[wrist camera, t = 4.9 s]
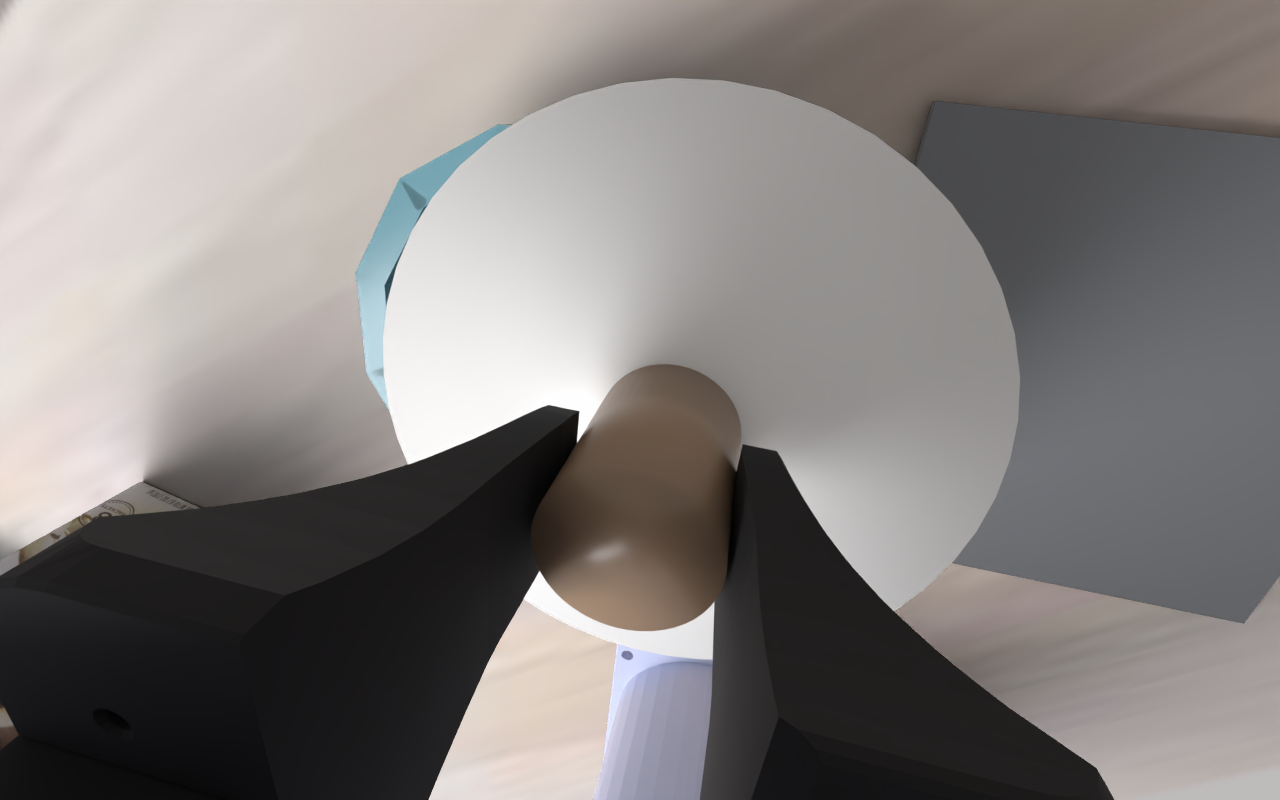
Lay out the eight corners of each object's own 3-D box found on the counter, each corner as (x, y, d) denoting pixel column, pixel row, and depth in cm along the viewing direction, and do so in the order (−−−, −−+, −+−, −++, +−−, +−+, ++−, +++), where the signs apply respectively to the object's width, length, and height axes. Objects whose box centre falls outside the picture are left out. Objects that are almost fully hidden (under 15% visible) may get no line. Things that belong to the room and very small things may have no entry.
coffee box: (313, 550, 28) (-179, 1007, 13) (303, 639, 31) (-109, 1091, 16) (137, 474, 28) (-530, 842, 14) (144, 569, 31) (-399, 954, 17)
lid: (888, 687, 15) (931, 908, 11) (418, 570, 17) (297, 721, 13) (1137, 133, 9) (1434, 146, 5) (381, 40, 11) (136, -8, 7)
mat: (1235, 614, 20) (1243, 623, 20) (810, 527, 22) (811, 533, 21) (1563, 168, 14) (1584, 170, 13) (932, 101, 16) (936, 100, 15)
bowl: (733, 473, 22) (723, 564, 17) (455, 419, 23) (378, 489, 19) (800, 152, 17) (809, 163, 12) (443, 109, 18) (337, 104, 14)
